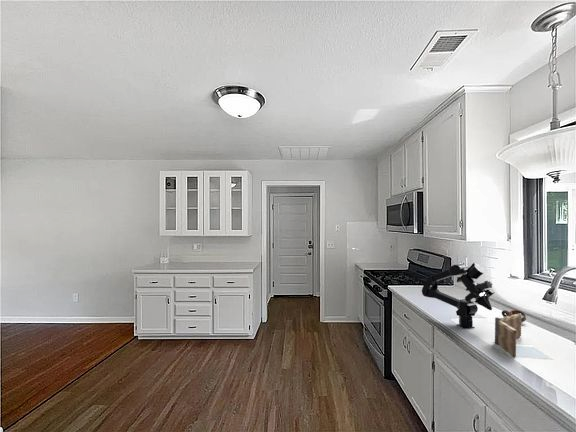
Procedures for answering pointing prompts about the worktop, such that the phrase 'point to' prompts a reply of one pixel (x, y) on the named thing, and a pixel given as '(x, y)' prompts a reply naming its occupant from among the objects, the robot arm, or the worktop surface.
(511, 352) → the panel
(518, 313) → the pottery mug
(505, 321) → the fence swing panel
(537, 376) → the worktop surface
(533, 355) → the card
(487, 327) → the worktop surface
